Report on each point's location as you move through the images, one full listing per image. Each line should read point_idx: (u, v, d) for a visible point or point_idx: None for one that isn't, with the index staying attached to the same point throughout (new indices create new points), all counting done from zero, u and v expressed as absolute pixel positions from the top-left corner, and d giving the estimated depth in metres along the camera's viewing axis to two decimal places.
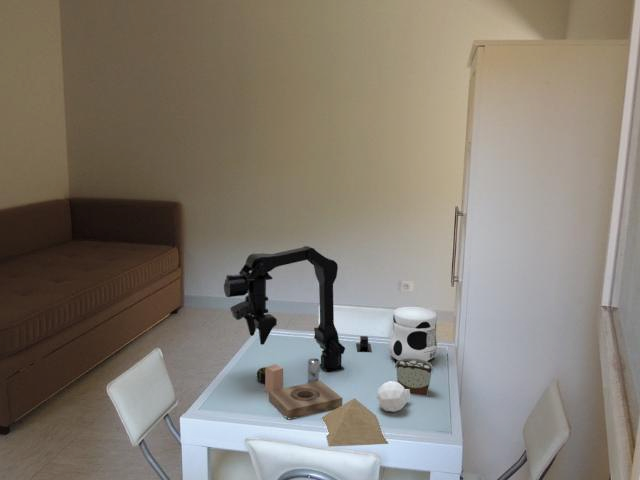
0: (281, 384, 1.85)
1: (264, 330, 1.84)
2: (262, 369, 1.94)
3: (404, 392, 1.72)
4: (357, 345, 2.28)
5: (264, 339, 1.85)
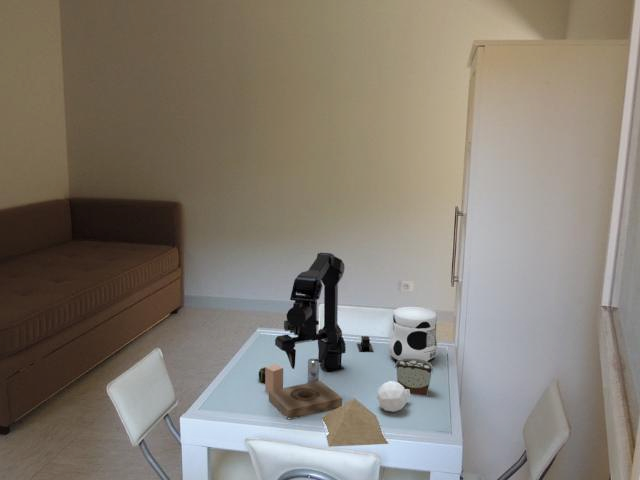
0: (281, 384, 1.85)
1: (289, 353, 1.73)
2: (264, 369, 1.94)
3: (404, 392, 1.72)
4: (358, 345, 2.28)
5: (291, 363, 1.74)
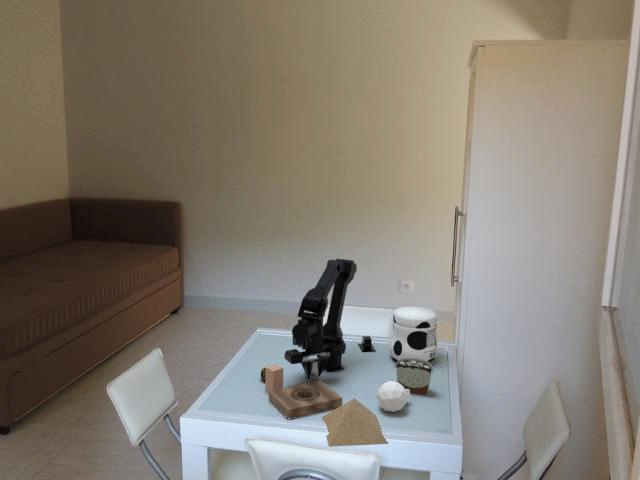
0: (281, 384, 1.85)
1: (305, 365, 1.89)
2: None
3: (404, 392, 1.72)
4: (359, 345, 2.28)
5: (306, 374, 1.90)
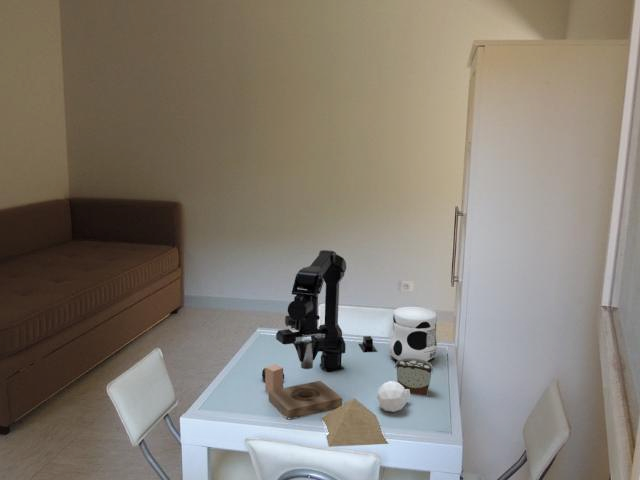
0: (281, 384, 1.85)
1: (298, 346, 1.76)
2: None
3: (404, 392, 1.72)
4: (360, 345, 2.27)
5: (299, 356, 1.76)
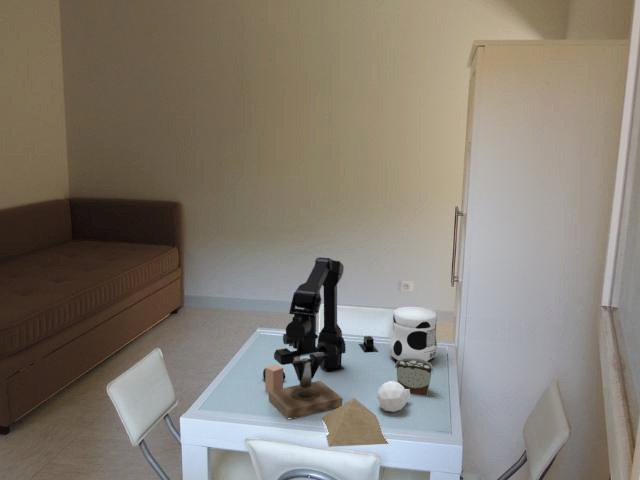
0: (281, 384, 1.85)
1: (296, 365, 1.74)
2: None
3: (404, 392, 1.72)
4: (361, 345, 2.27)
5: (298, 375, 1.74)
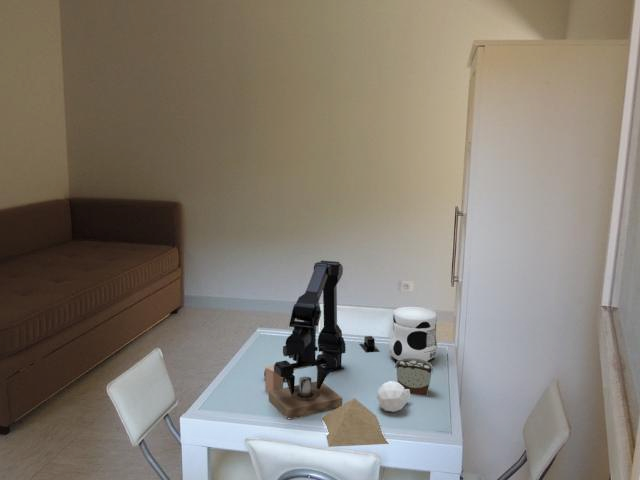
0: (281, 384, 1.85)
1: (288, 379, 1.73)
2: None
3: (404, 392, 1.72)
4: (361, 345, 2.27)
5: (290, 389, 1.74)
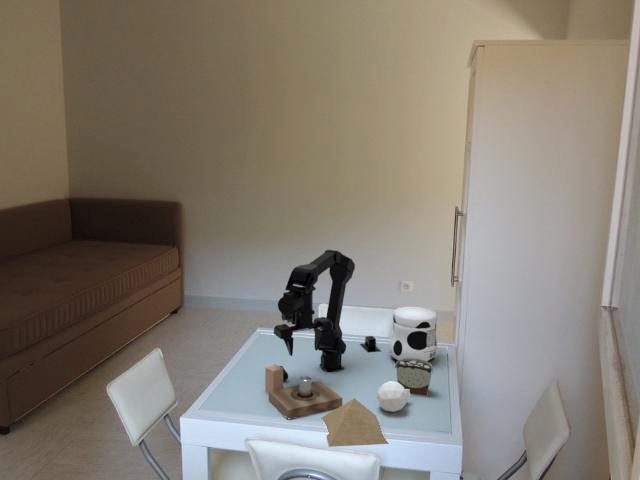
0: (281, 384, 1.85)
1: (287, 341, 1.84)
2: None
3: (404, 392, 1.72)
4: (362, 346, 2.27)
5: (289, 350, 1.85)
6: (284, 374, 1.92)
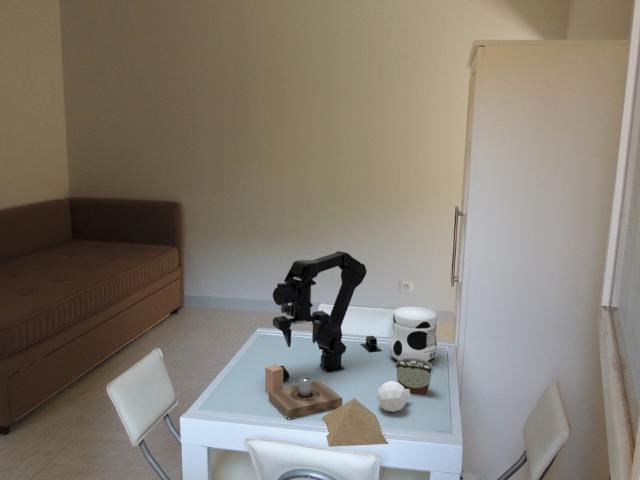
0: (281, 384, 1.85)
1: (286, 333, 1.90)
2: None
3: (404, 392, 1.72)
4: (363, 346, 2.27)
5: (287, 342, 1.90)
6: (285, 374, 1.92)
